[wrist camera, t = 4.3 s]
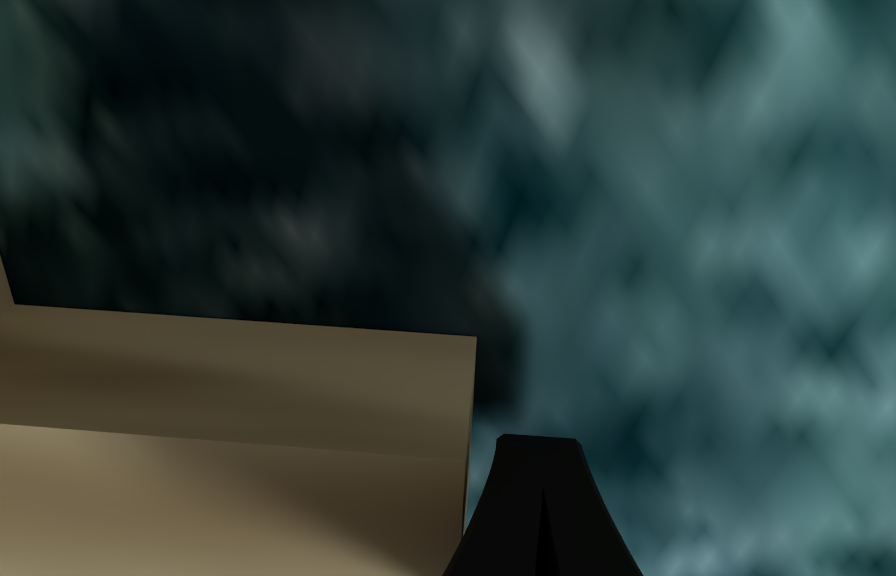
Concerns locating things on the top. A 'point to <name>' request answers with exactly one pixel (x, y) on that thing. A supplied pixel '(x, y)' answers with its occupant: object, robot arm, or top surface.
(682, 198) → the top surface
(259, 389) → the maple t block
